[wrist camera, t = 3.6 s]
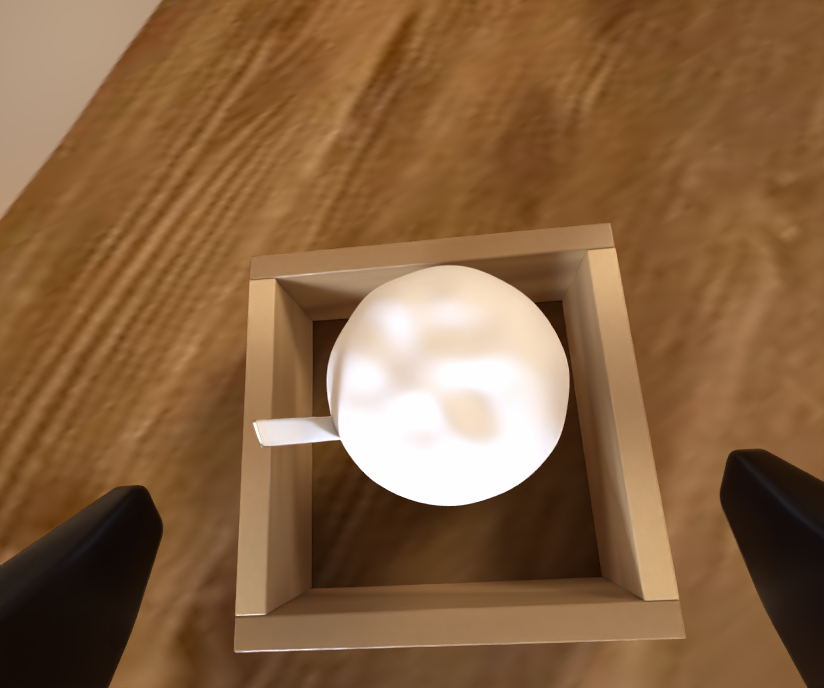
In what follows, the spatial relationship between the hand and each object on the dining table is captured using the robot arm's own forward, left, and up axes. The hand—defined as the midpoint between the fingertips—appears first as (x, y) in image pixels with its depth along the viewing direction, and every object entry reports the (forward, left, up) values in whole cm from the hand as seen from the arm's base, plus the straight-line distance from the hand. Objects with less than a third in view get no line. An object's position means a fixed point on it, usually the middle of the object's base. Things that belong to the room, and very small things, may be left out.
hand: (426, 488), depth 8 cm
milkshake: (+2, -1, -9) cm, 10 cm away
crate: (+2, -1, -9) cm, 10 cm away
